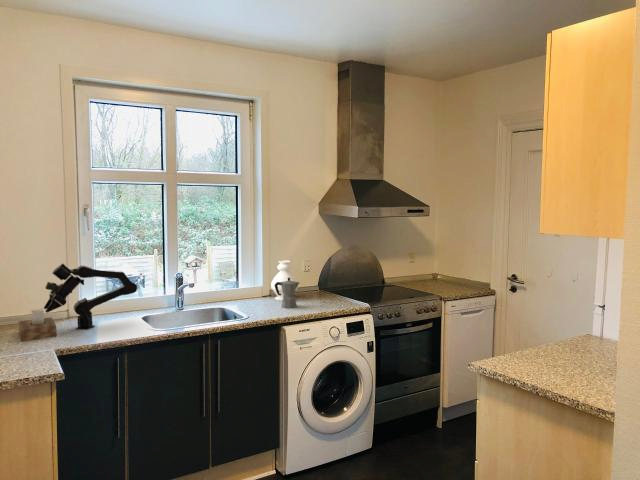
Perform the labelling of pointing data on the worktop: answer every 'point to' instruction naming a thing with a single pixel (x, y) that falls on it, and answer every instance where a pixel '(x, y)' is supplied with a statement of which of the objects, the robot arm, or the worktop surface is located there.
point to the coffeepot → (288, 293)
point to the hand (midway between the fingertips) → (45, 310)
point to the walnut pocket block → (37, 329)
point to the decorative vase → (282, 277)
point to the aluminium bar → (37, 316)
